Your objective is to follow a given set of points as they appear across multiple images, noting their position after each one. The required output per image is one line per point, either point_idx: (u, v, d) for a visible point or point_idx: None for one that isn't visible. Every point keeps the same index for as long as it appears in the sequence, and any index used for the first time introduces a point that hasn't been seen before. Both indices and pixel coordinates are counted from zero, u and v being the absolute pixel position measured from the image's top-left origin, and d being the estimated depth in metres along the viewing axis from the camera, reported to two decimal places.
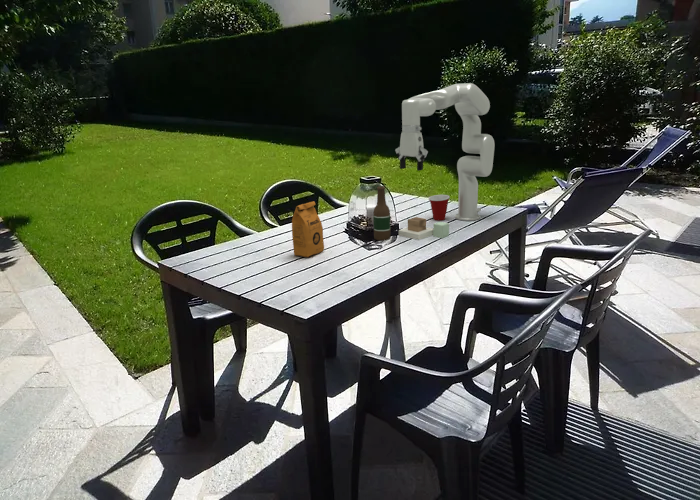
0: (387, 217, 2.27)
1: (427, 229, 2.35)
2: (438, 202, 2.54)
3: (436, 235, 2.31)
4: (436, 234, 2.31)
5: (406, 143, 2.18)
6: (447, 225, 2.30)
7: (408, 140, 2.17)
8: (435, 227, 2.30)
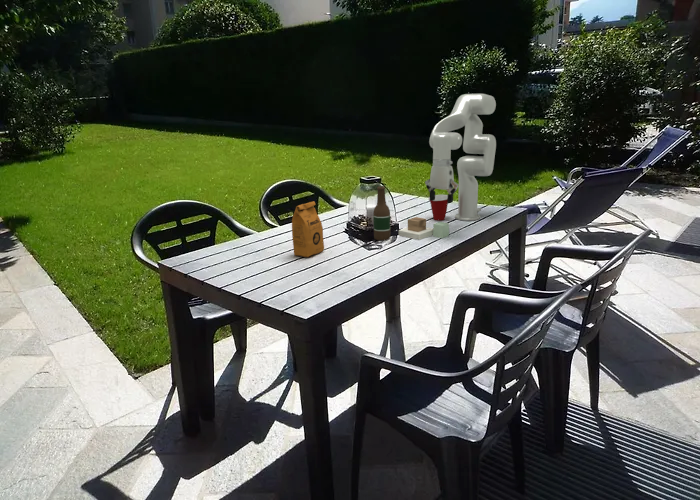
0: (387, 217, 2.27)
1: (427, 229, 2.35)
2: (438, 202, 2.54)
3: (436, 235, 2.31)
4: (436, 234, 2.31)
5: (437, 176, 2.22)
6: (447, 225, 2.30)
7: (439, 173, 2.21)
8: (435, 227, 2.30)
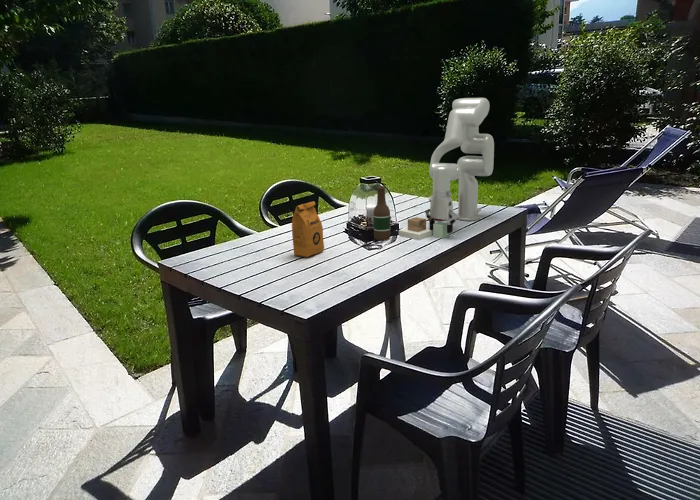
0: (387, 217, 2.27)
1: (427, 229, 2.35)
2: None
3: (436, 235, 2.31)
4: (436, 234, 2.31)
5: (437, 207, 2.26)
6: None
7: (438, 204, 2.25)
8: (435, 227, 2.30)
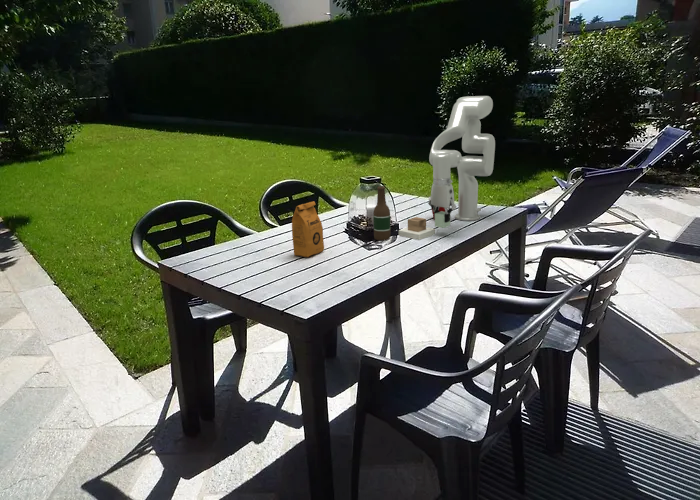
0: (387, 217, 2.27)
1: (427, 229, 2.35)
2: None
3: (437, 225, 2.31)
4: (438, 224, 2.31)
5: (437, 194, 2.25)
6: None
7: (439, 192, 2.24)
8: (436, 217, 2.30)
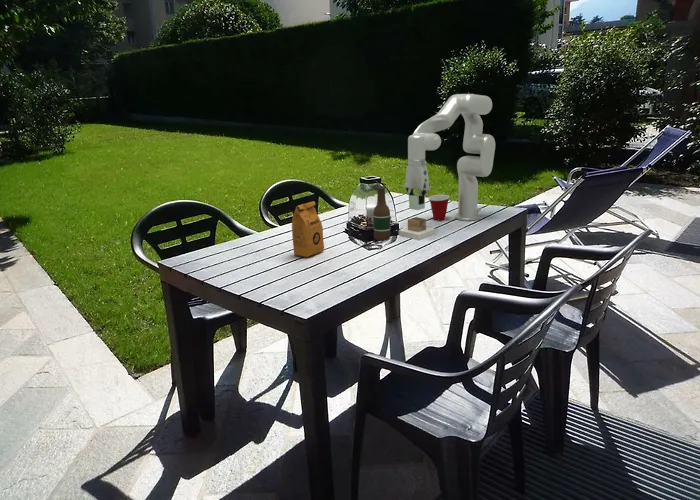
0: (387, 217, 2.27)
1: (427, 229, 2.35)
2: (438, 202, 2.54)
3: (412, 207, 2.31)
4: (412, 206, 2.31)
5: (412, 176, 2.26)
6: None
7: (414, 173, 2.25)
8: (411, 199, 2.30)
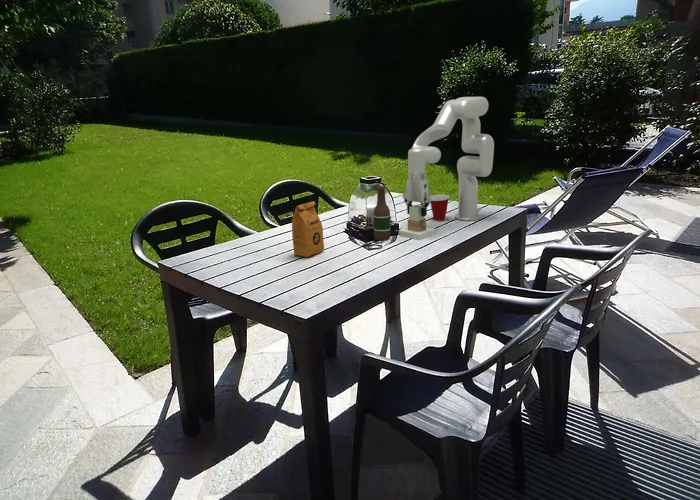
0: (387, 217, 2.27)
1: (427, 229, 2.35)
2: (438, 202, 2.54)
3: (412, 218, 2.32)
4: (412, 217, 2.32)
5: (412, 189, 2.28)
6: None
7: (414, 187, 2.27)
8: (411, 210, 2.32)
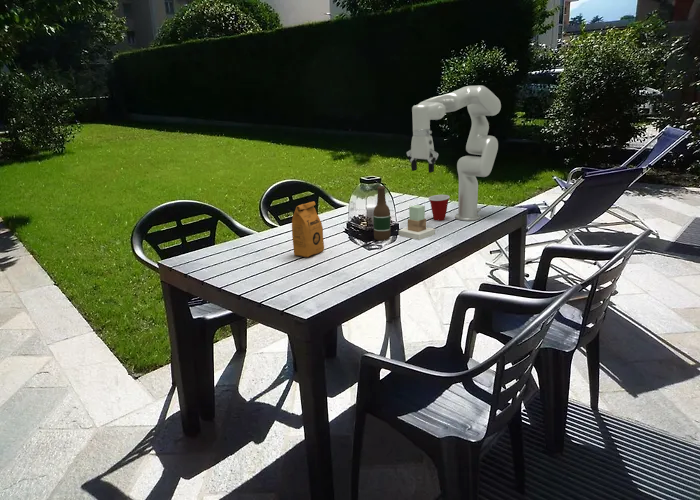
0: (387, 217, 2.27)
1: (427, 229, 2.35)
2: (438, 202, 2.54)
3: (412, 218, 2.32)
4: (412, 217, 2.32)
5: (417, 146, 2.27)
6: (423, 208, 2.31)
7: (419, 144, 2.26)
8: (411, 210, 2.32)
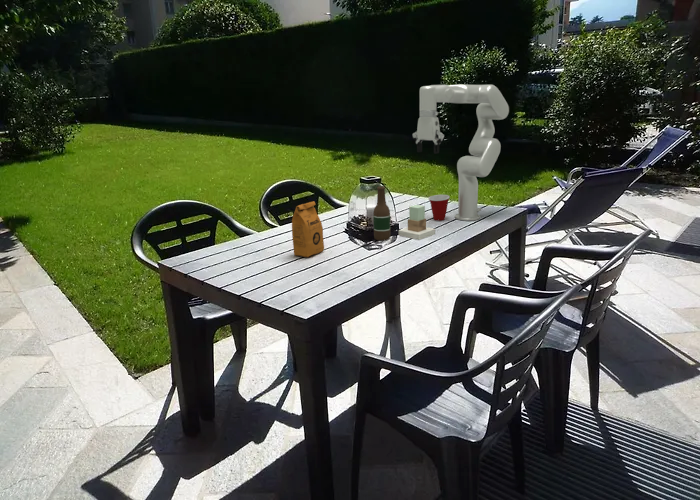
0: (387, 217, 2.27)
1: (427, 229, 2.35)
2: (438, 202, 2.54)
3: (412, 218, 2.32)
4: (412, 217, 2.32)
5: (423, 127, 2.30)
6: (423, 208, 2.31)
7: (425, 124, 2.29)
8: (411, 210, 2.32)
